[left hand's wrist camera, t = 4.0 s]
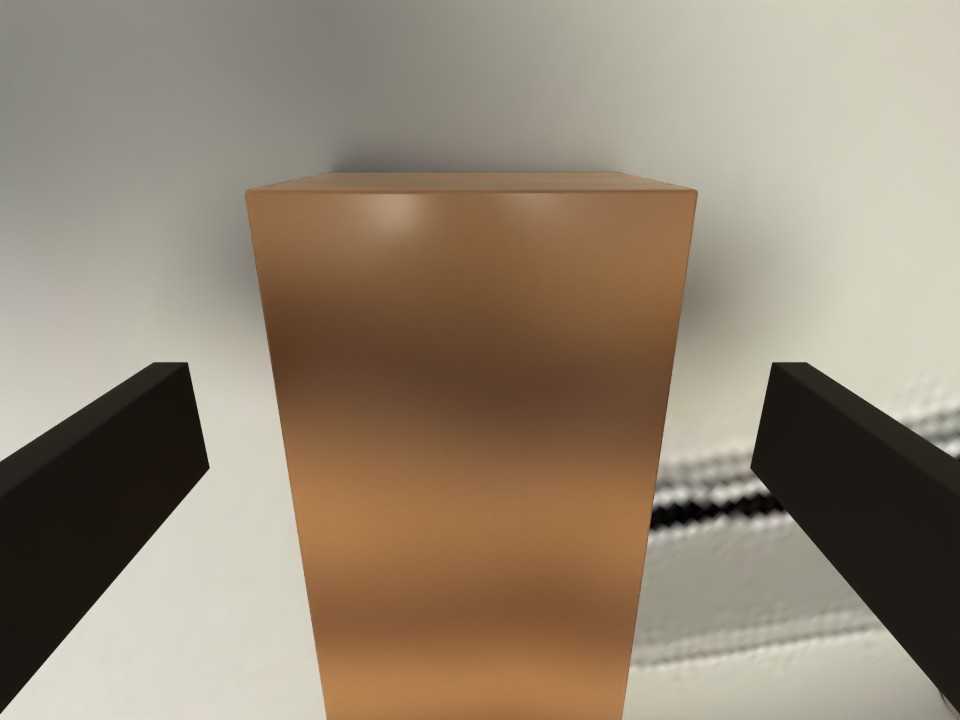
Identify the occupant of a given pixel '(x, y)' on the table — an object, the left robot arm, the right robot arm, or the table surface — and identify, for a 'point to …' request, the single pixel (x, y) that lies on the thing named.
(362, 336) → the wooden beam
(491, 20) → the table surface
